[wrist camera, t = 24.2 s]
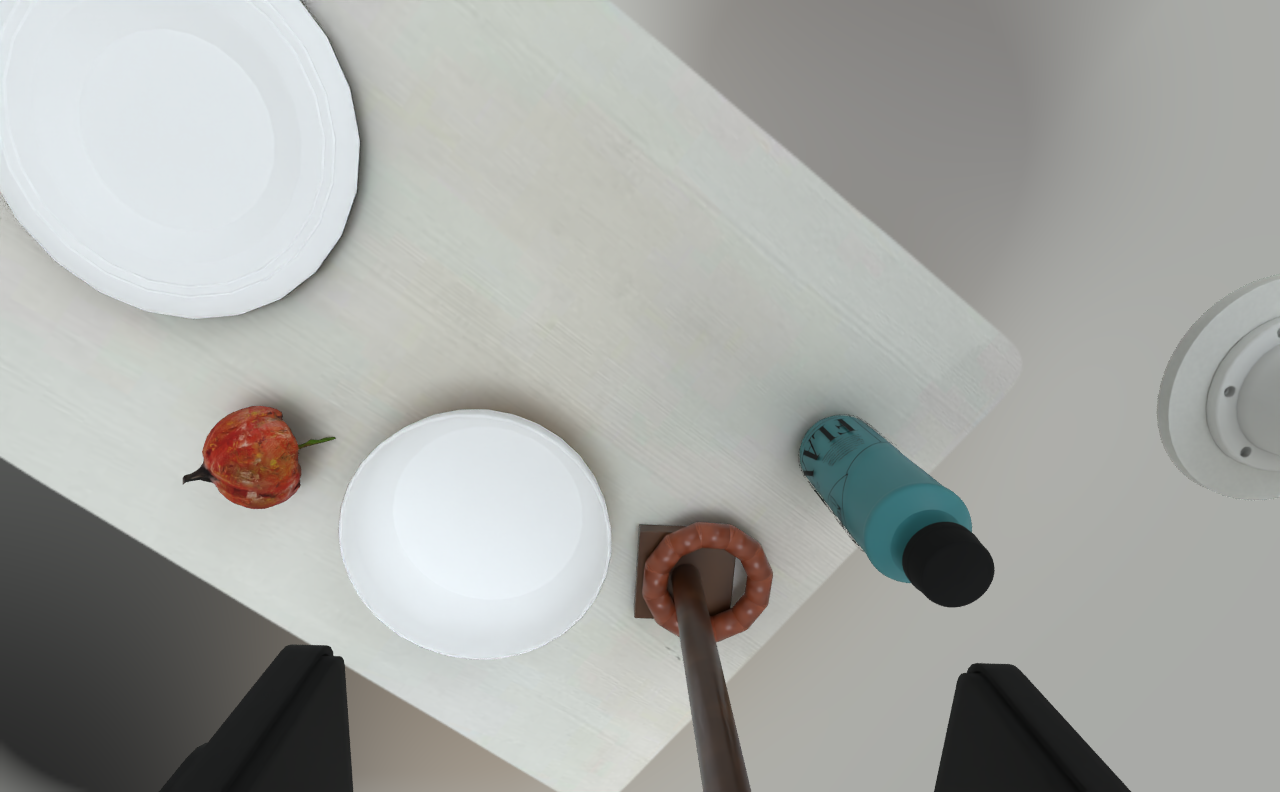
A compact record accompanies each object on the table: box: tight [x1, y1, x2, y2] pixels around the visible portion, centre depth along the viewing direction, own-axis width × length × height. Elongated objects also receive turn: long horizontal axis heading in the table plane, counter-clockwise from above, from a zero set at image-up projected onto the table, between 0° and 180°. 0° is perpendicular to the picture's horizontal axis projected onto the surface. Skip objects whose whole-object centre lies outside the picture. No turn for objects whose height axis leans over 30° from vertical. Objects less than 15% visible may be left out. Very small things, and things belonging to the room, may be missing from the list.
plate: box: [0, 0, 361, 319], centre depth 43 cm, size 25×25×2 cm
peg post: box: [634, 525, 751, 792], centre depth 42 cm, size 8×8×25 cm
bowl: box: [338, 409, 611, 659], centre depth 49 cm, size 20×20×6 cm
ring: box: [642, 522, 773, 642], centre depth 52 cm, size 10×10×2 cm
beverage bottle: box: [799, 415, 994, 607], centre depth 42 cm, size 6×7×20 cm
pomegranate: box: [183, 406, 336, 509], centre depth 47 cm, size 7×7×10 cm
